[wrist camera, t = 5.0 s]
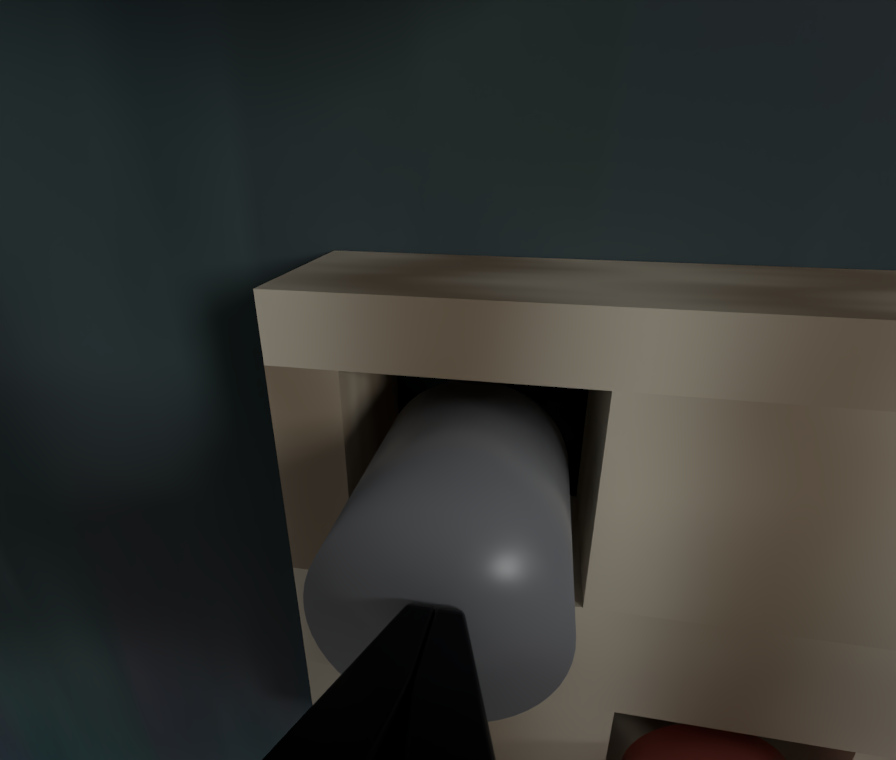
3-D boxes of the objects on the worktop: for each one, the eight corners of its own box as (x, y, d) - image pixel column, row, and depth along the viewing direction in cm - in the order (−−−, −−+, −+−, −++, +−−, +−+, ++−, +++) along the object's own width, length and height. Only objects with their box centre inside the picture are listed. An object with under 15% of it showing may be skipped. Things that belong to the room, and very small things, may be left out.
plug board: (1341, 286, 10) (1772, 363, 7) (997, 802, 17) (1120, 985, 13) (334, 250, 13) (253, 288, 10) (369, 692, 20) (328, 815, 16)
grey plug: (577, 387, 11) (590, 533, 7) (560, 546, 12) (563, 744, 8) (383, 372, 11) (288, 498, 7) (390, 526, 13) (316, 699, 9)
